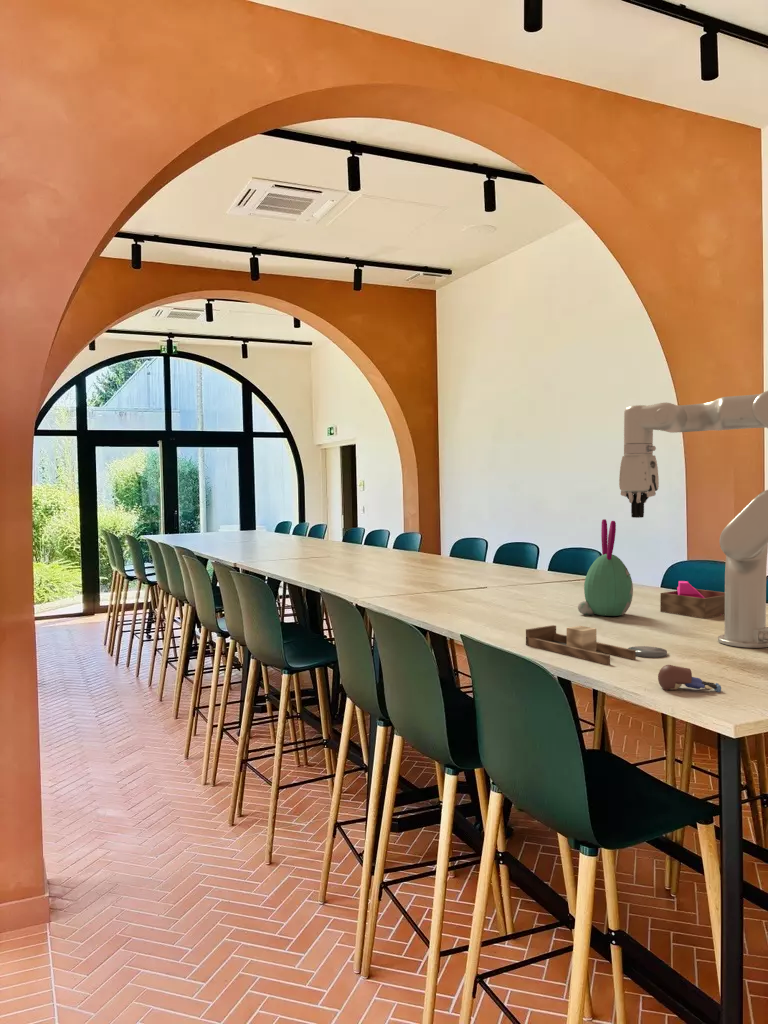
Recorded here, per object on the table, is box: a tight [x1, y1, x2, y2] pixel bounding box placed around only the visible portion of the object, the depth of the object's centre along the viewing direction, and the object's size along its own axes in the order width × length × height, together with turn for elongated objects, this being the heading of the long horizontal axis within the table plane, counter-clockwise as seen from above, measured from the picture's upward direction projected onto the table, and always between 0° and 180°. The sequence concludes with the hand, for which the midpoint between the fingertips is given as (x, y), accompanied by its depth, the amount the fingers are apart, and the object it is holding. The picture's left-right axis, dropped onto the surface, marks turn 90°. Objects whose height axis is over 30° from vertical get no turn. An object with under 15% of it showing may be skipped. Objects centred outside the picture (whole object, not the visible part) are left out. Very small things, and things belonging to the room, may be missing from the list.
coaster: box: [627, 645, 668, 659], centre depth 179 cm, size 9×9×1 cm
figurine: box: [657, 664, 722, 693], centre depth 147 cm, size 5×5×12 cm
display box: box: [659, 588, 725, 619], centre depth 237 cm, size 15×17×6 cm
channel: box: [525, 624, 637, 666], centre depth 182 cm, size 26×10×4 cm, turn 34°
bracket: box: [676, 580, 722, 616], centre depth 237 cm, size 12×10×10 cm
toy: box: [577, 518, 634, 617], centre depth 233 cm, size 15×17×30 cm
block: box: [566, 625, 597, 652], centre depth 181 cm, size 5×5×6 cm
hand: (637, 517), depth 204 cm, fingers closed
